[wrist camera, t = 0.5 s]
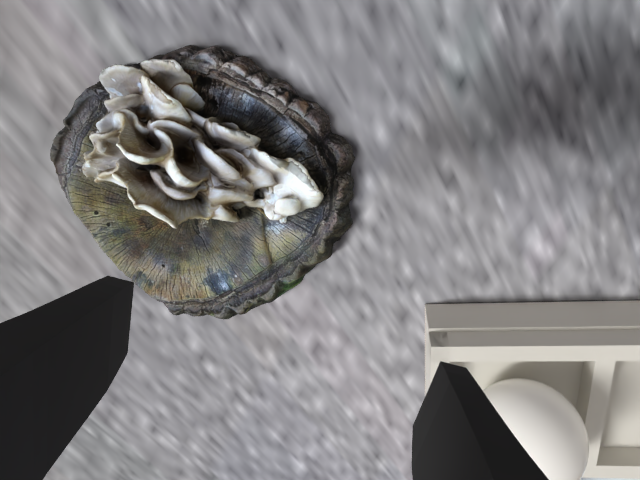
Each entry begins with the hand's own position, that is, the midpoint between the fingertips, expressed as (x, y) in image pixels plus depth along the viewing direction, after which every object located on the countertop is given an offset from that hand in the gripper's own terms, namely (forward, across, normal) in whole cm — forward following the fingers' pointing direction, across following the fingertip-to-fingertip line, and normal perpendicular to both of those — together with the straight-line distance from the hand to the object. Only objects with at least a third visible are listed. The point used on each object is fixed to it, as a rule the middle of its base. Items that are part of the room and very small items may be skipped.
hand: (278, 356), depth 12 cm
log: (+10, +5, +1) cm, 11 cm away
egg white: (+8, -10, +6) cm, 14 cm away
